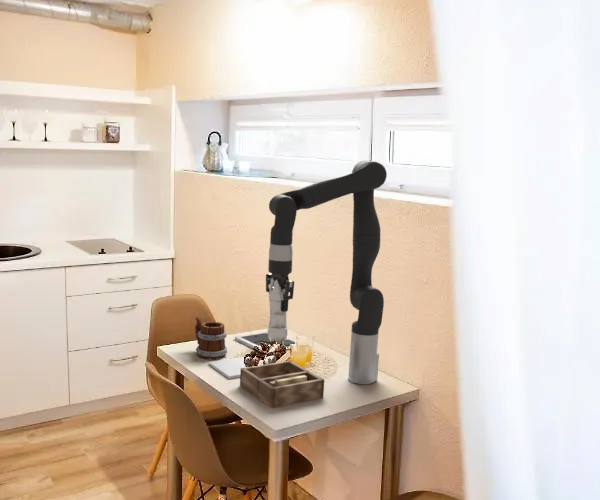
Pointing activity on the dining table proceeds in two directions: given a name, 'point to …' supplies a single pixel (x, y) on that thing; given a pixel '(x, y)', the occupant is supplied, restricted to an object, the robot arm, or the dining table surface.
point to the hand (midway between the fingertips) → (278, 308)
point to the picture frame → (258, 339)
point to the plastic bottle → (276, 317)
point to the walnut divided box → (259, 386)
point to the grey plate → (229, 367)
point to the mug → (210, 339)
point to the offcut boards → (288, 381)
